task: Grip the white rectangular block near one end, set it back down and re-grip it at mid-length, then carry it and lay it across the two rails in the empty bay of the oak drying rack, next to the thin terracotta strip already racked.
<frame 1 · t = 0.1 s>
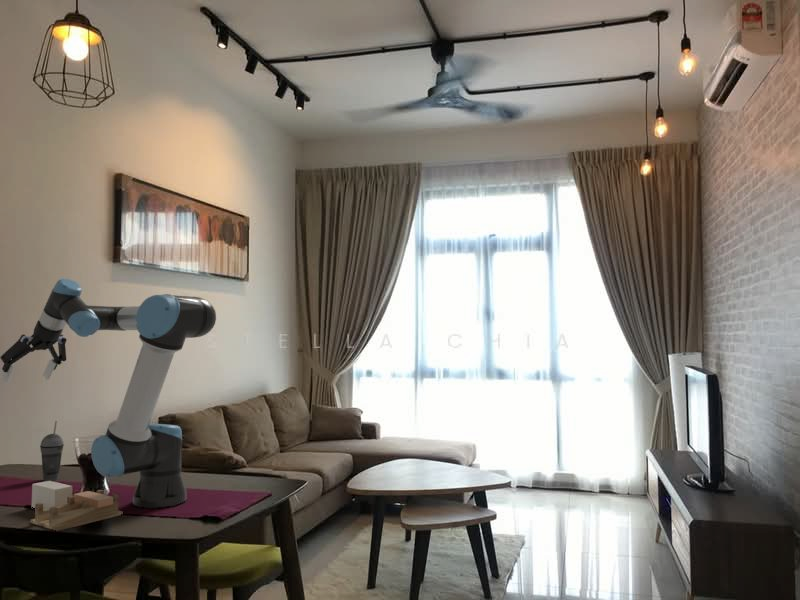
hand: (25, 378, 206), 36 cm above the table, tool tilted 35°, fingers open, 13 cm apart
oak rack: (77, 518, 175), on the table
terracotta strip: (93, 502, 179), point 3 cm above the table, touching oak rack
white rectangular block: (51, 509, 184), on the table
beverage cup: (50, 480, 221), on the table
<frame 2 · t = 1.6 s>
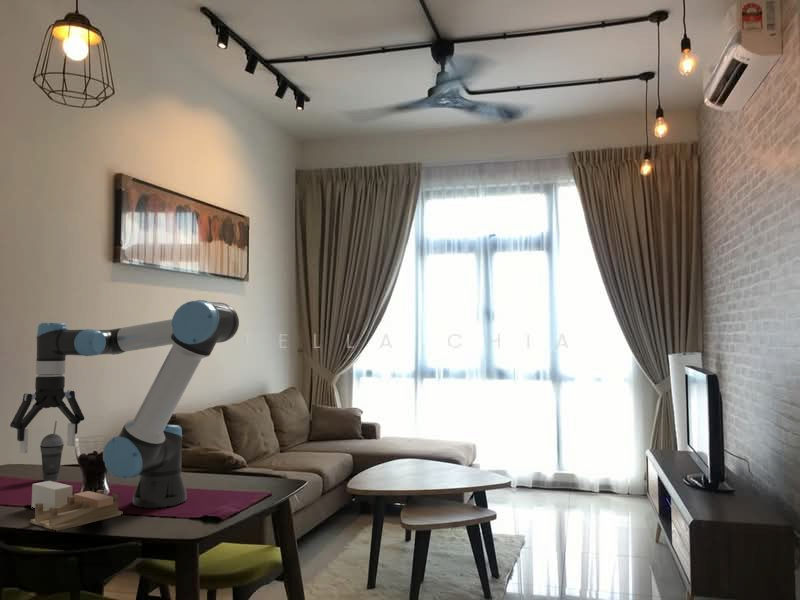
hand: (47, 449, 187), 17 cm above the table, tool pointing down, fingers open, 13 cm apart
nothing on the table moved.
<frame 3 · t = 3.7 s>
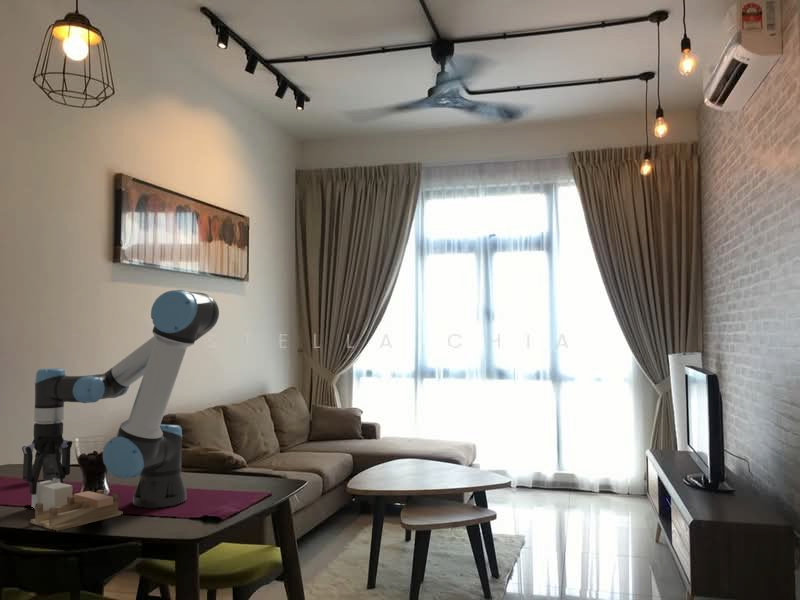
hand: (45, 503, 186), 1 cm above the table, tool pointing down, fingers closed on white rectangular block, 5 cm apart
white rectangular block: (51, 509, 184), on the table, touching gripper
everything else where it was.
when the fingers open (2 cm above the table, at t = 5.3 s): white rectangular block stays where it is, on the table.
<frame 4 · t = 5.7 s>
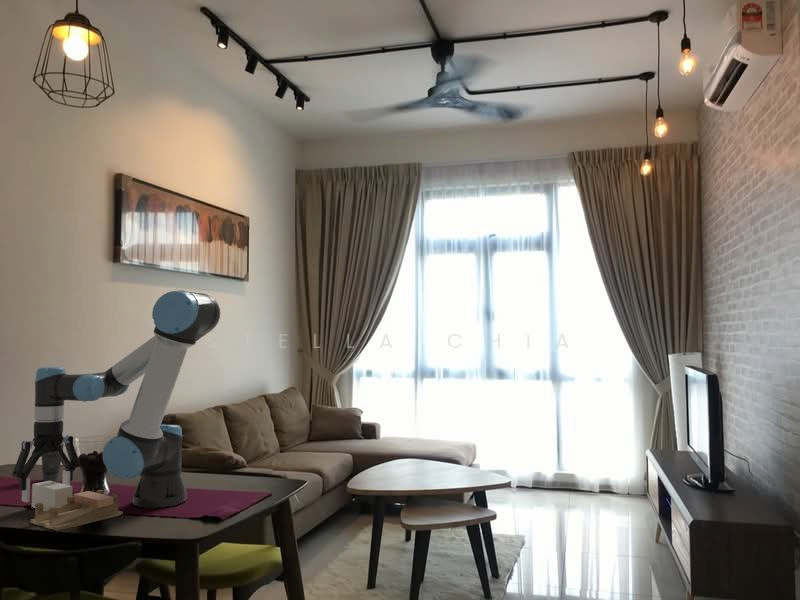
hand: (46, 497, 186), 3 cm above the table, tool pointing down, fingers open, 11 cm apart
white rectangular block: (51, 509, 184), on the table
everything else where it was.
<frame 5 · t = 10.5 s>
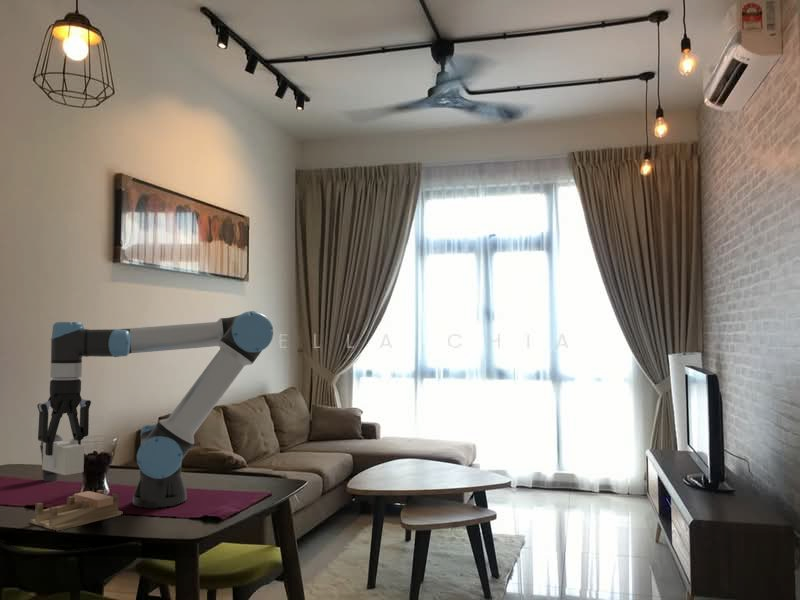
hand: (62, 465, 173), 15 cm above the table, tool pointing down, fingers closed on white rectangular block, 5 cm apart
white rectangular block: (62, 470, 173), point 13 cm above the table, touching gripper
everything else where it was.
when the fingers open (6 cm above the table, at t = 12.4 s): white rectangular block drops 2 cm, resting on oak rack.
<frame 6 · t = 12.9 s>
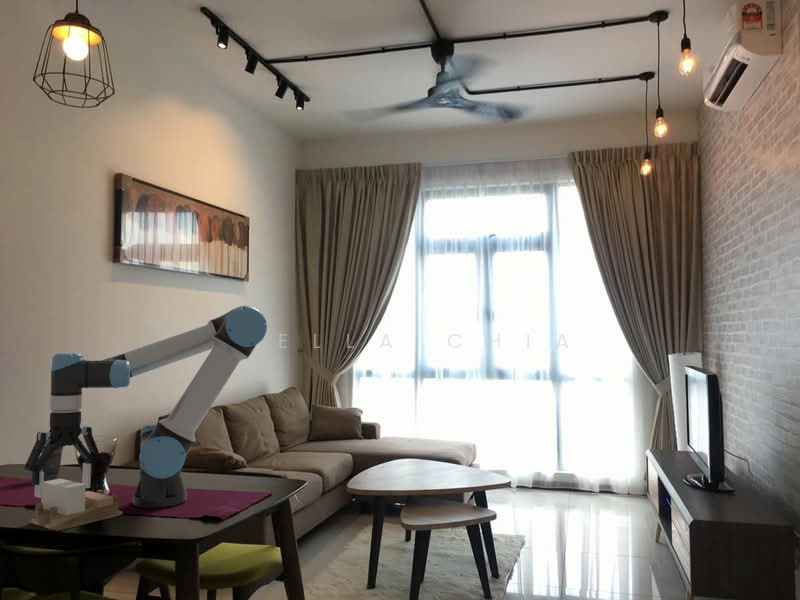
hand: (63, 492, 172), 8 cm above the table, tool pointing down, fingers open, 12 cm apart
white rectangular block: (62, 509, 172), point 3 cm above the table, touching oak rack
everything else where it was.
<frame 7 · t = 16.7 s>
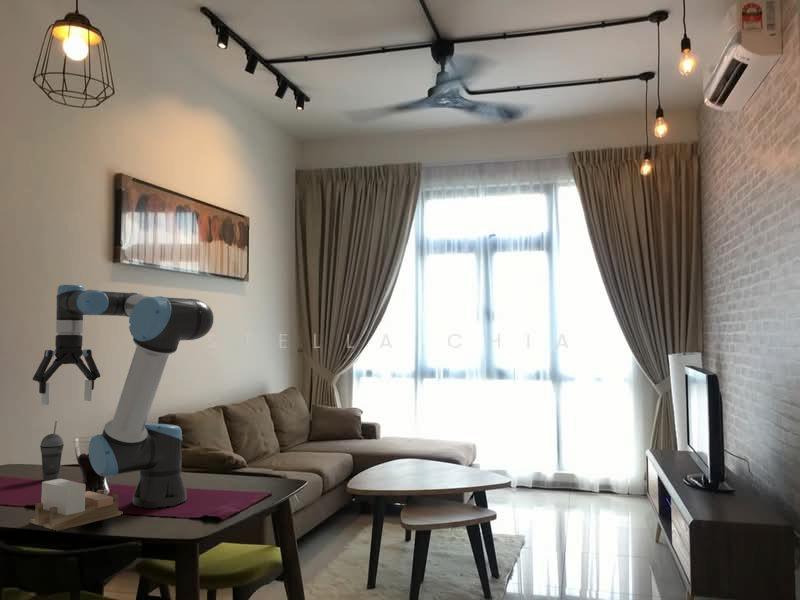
hand: (66, 402, 201), 29 cm above the table, tool pointing down, fingers open, 13 cm apart
nothing on the table moved.
at the end: white rectangular block 0.1 cm from the target spot on the oak rack, point 3.3 cm above the oak rack's base; white rectangular block tilted 0°; the gripper is holding nothing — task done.
